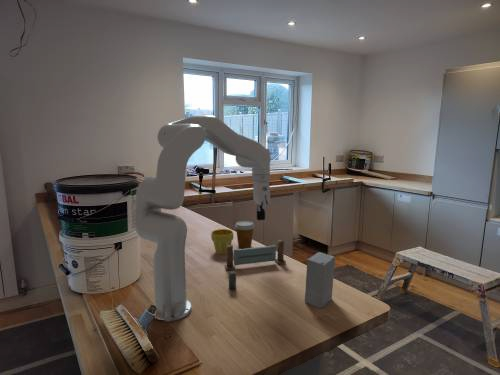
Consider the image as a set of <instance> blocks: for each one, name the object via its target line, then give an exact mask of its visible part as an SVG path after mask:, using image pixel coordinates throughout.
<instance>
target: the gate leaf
mask: <svg viewBox="0 0 500 375" xmlns="http://www.w3.org/2000/svg"><path fill="white" fill-rule="evenodd" d="M276 259H277V245H275V244H271V245H267V246H265V245H264V246H258V247H257V246H256V247H250V248H246V249H242V248H233V265H234V266H240V265H249V264H260V263H266V262H267V263H268V262H275V261H276Z"/></svg>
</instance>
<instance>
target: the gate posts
mask: <svg viewBox="0 0 500 375" xmlns="http://www.w3.org/2000/svg"><path fill="white" fill-rule="evenodd" d="M284 245H285V240H282V239H278V240H277V257H276V261H274V262H275V263H276V265H277V266H282V265H286V264H287V261H286V260H285V259H284V254H285V253H284V251H285V246H284ZM224 269H225V271H226V272H228V290H230V291H235V290H236V289H237V272H236V265H234V246H233V245H232V244H231V245H227V254H226V264H224Z"/></svg>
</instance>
